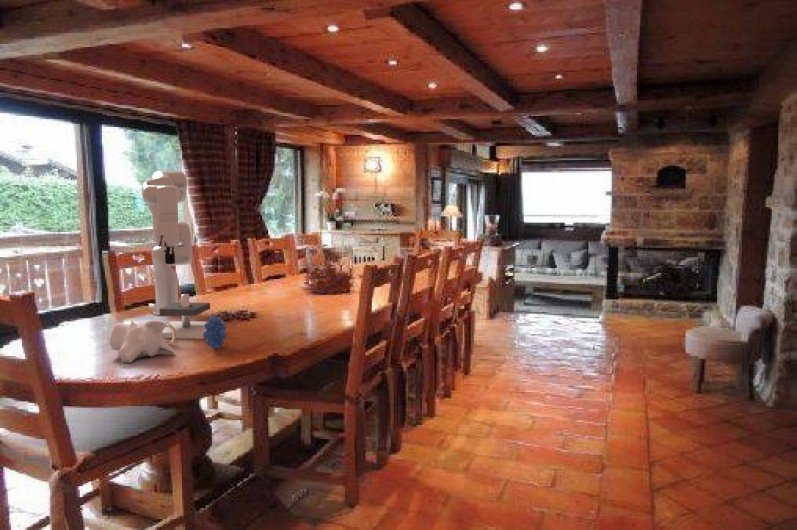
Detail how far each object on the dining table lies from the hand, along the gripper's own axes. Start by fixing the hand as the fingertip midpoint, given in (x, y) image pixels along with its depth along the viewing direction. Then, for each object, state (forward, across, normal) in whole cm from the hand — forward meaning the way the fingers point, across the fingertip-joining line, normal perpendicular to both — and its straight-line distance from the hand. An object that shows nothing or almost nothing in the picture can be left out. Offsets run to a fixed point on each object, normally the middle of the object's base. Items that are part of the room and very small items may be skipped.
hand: (170, 263), depth 217 cm
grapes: (+26, +27, +30) cm, 49 cm away
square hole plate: (+19, +3, +7) cm, 20 cm away
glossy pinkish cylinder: (+25, +3, +7) cm, 26 cm away
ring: (+27, +22, +9) cm, 36 cm away
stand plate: (+27, +3, +7) cm, 28 cm away
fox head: (+26, +40, +9) cm, 49 cm away
